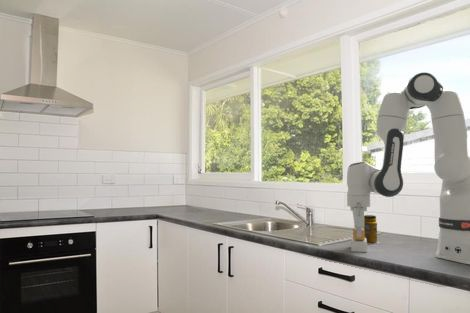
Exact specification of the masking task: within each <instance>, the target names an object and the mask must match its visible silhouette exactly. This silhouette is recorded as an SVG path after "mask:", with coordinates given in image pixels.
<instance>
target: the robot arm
mask: <svg viewBox="0 0 470 313" xmlns="http://www.w3.org/2000/svg"><path fill="white" fill-rule="evenodd" d="M425 106H426V107H427V108H428V110H429V112H430V118H431V125H432V130H433V131H432V132H433V138H434V166H433V168H434V171H435V174H436V175H437V177H439V179H441V180H442V183H441V191H440V194H439V217H438V227H439V234H438V239H437V240H438V241H437V247H436V248H437V249H436V253H435V257H436V258H439V259H443V260H447V261H451V262H456V263H461V264H465V265H470V156H468V155H469V154H468V132H467V124H466V120H465V118H466V117H465V114H464V110H463V105H462V102H461V100H460V97H459V95H458V93H457V92H456V91H454V90H451V89H444V87H443V85H442V84H441V83H440V82H439V80H438V79H437V78H436V77H435V75H433V74H431V72H430V73H429V72H425V71H424V72H419V73H416V74H414V75H413V76H412V77H411V78H409V80H408V82H407V83H406V85H405V87H404V89H403V90H401V91H391V92H387V93H386V94H385V95H384V96H383V99H382V102H381V103H380V107H379V111H378V115H377V120H376V134H377V135H378V137H379V138H380V139H381V140H382V141H383V144H384V153H383V161H382V162H383V163H382V167H381V169H380V168H377V167H376V166H373V165H371V164H369V163H368V161H367V162H366V161H361V162H359V161H358V162H354V163H351V164H350V165H349V166H348V168H347V172H346V186H347V193H346V202H347V204H346V206H347V207H349V208H350V209H349V210H350V211H352V215H353V225H354V226H353V227H354V228H356V231H357V237H361V232H362V229H363V228H364V216H365V212H367V211H368V208H370V207H371V193H374V194H378V195H381V196H382V197H386V198H393V197H395V196H397V195H399V194H400V192H401V191H402V190H403V187H404V179H403V175H402V170H401V169H402V160H403V152H404V151H403V150H404V140H405V133H406V127H407V123H408V116H409V112H410V110H412V109H413V110H414V109H420V108H424V107H425Z"/></svg>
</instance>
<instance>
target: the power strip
mask: <svg viewBox="0 0 470 313" xmlns="http://www.w3.org/2000/svg"><path fill="white" fill-rule="evenodd" d="M350 239H351V240H350V243H351V244H350V246H351V247H350V250H351V252H357V253H359V252H360V253H368V244H367V239H366V238H365V240H353V236H351V238H350Z"/></svg>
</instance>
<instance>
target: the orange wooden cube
mask: <svg viewBox="0 0 470 313" xmlns="http://www.w3.org/2000/svg"><path fill="white" fill-rule="evenodd" d="M352 234H353V235H352V237H353V240H365V230H364V229H363V228H362V232H361V237H357V231H356V228H355V227H354V228H353V229H352Z"/></svg>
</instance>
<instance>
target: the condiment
mask: <svg viewBox="0 0 470 313" xmlns="http://www.w3.org/2000/svg"><path fill="white" fill-rule="evenodd" d="M362 229H364V230H365V238H366V239H367V245H368V244H380V243H382V242H381V241H378V222H377V216H376V215H372V214H370V215H369V214H364V228H362Z"/></svg>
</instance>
